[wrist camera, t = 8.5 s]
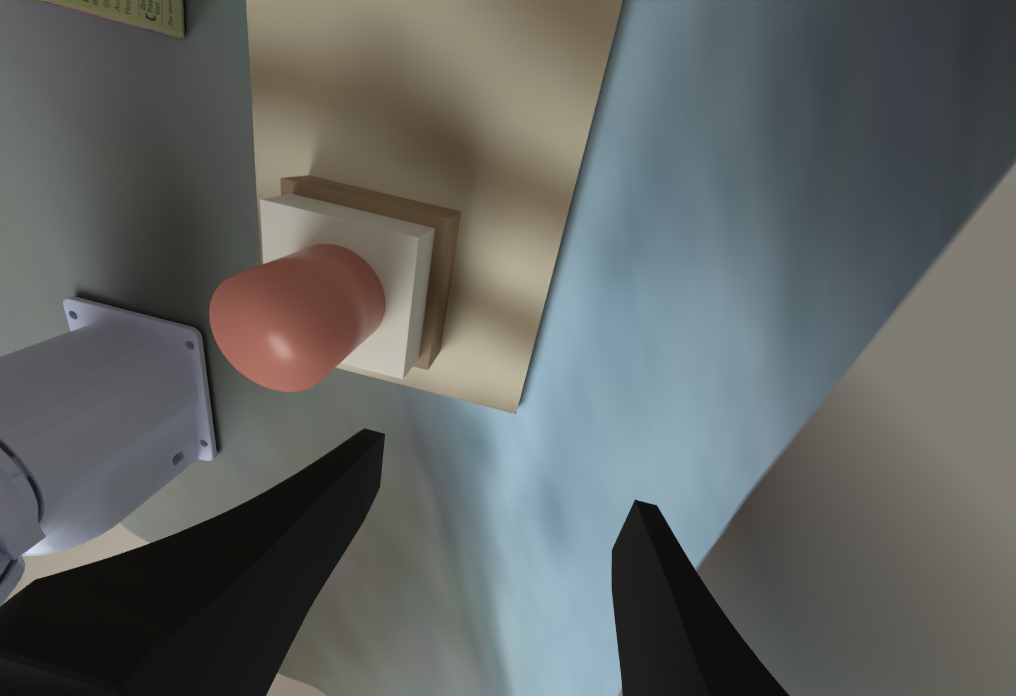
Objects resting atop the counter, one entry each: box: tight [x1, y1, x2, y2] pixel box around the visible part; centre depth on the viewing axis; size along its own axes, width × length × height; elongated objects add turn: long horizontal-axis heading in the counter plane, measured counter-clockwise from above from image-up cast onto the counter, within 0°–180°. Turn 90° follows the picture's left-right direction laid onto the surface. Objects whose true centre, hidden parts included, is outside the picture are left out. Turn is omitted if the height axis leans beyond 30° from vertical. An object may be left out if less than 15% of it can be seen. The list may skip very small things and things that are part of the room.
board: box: [246, 0, 623, 414], centre depth 18 cm, size 24×14×1 cm, turn 168°
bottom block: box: [280, 175, 461, 370], centre depth 19 cm, size 7×7×2 cm
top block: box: [260, 194, 435, 379], centre depth 18 cm, size 6×6×2 cm
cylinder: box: [209, 244, 385, 392], centre depth 15 cm, size 4×4×4 cm
